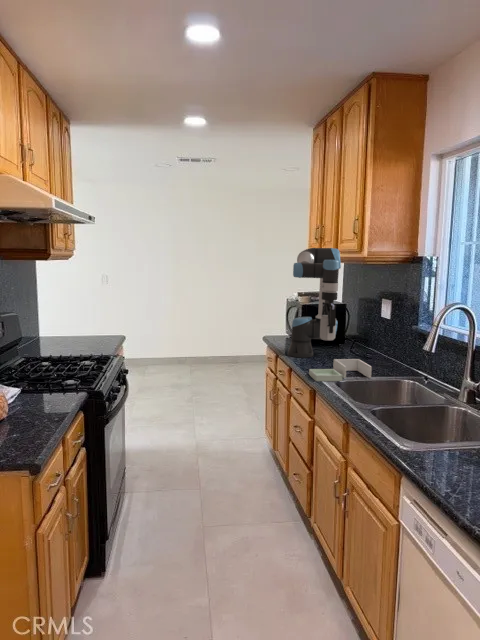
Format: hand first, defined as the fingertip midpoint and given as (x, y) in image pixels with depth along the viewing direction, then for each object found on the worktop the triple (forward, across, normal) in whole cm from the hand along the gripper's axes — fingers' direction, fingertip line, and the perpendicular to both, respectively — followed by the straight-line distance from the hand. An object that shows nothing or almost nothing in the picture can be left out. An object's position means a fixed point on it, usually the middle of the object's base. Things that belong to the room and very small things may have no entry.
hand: (327, 338), depth 233 cm
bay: (+20, -6, +16) cm, 26 cm away
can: (+1, 0, 0) cm, 1 cm away
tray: (+20, 0, 0) cm, 20 cm away
